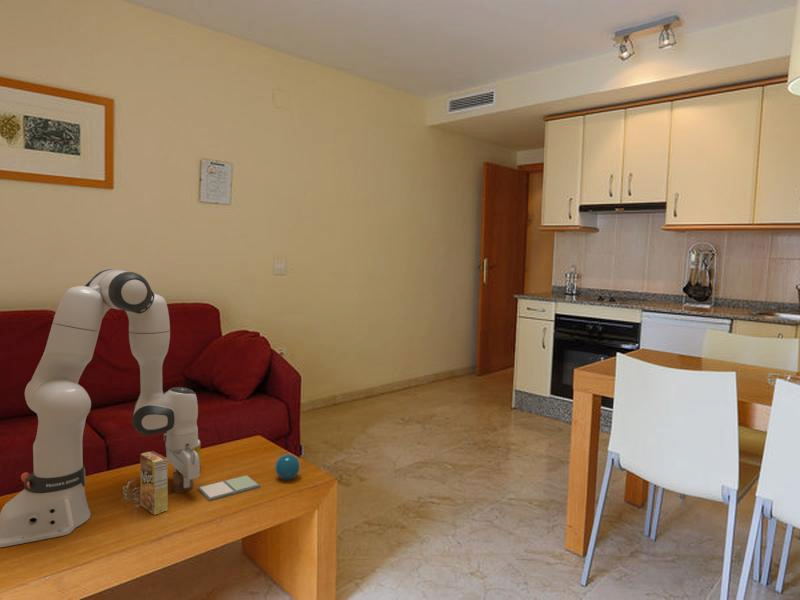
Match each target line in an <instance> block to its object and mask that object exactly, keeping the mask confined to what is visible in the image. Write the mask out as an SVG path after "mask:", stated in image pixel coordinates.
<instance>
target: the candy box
mask: <svg viewBox="0 0 800 600" xmlns="http://www.w3.org/2000/svg"><path fill="white" fill-rule="evenodd" d="M139 455H140V468H139V469H140V475H139V476H140V478H139V479H140V484H139V485H140V495H139V496H140V497H139V498H140V500H139V501H140V506H141V507H142V508H144V509H145V510H147V511H148V512H150V513H151V514H152V515H153V514H154V515H153V516H156V514H157V515H158V514H162V513H165V512H168V509H169V508H168V506H169V505H168V502H169V501H168V500H169V497H168V496H169V494H168V493H169V491H168V489H169V488H168V487H169V486H168V484H169V482H168V481H169V461H168V458H167V456H163V455H162V454H159V453H158V452H156V451H154V450H151V451H146V452H143V453H140V454H139ZM164 511H165V512H164ZM161 512H162V513H161Z"/></svg>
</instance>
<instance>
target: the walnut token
mask: <svg viewBox="0 0 800 600" xmlns="http://www.w3.org/2000/svg"><path fill="white" fill-rule="evenodd" d="M183 479H184V478H183V475H182V474H181V473H180V472H179V471H178V472H175V471H174V472H172V488H174V489H173V490H174V491H175V492H176V493H177V494H181V493H184V492H188V491H192V489H193V488H194V484H193V483H194V481H193V480H194V479H192V480H190V487H188V488H184V487H183V486H182V481H183ZM180 492H181V493H180Z"/></svg>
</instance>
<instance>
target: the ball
mask: <svg viewBox="0 0 800 600" xmlns="http://www.w3.org/2000/svg"><path fill="white" fill-rule="evenodd" d="M300 469H301V462H300V460H299V459H298V457H297V456H295V455H294V454H290V453H287V454H285V453H284V454H283V455H281V456H280V457H279V458H278V459H277V460H276V462H275V467H274V471H275V473H276V475H277V476H278V478H280V479H282V480H284V481H285V480H286V481H287V480H292V479H294V478H295V477H297V475H298V474H299V473H300Z"/></svg>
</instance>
